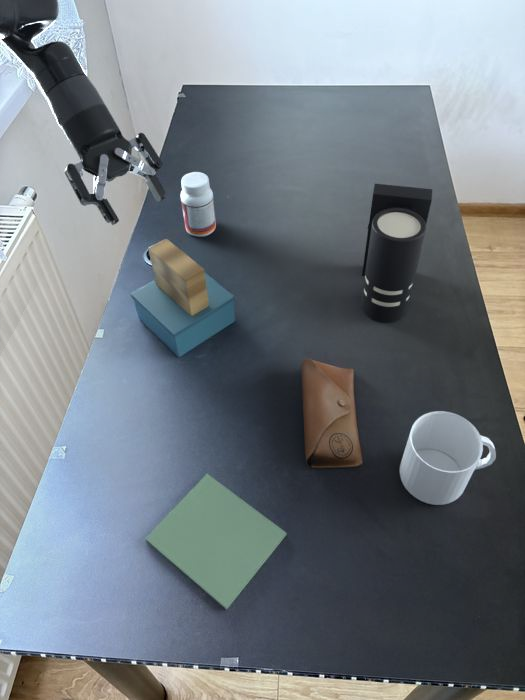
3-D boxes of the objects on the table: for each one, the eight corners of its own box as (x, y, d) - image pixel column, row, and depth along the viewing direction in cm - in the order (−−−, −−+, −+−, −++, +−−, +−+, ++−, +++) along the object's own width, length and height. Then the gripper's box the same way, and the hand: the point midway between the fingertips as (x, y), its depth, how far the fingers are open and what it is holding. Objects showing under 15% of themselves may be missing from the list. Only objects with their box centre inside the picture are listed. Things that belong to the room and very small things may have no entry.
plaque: (209, 305, 97) (204, 268, 91) (191, 316, 95) (185, 280, 89) (173, 274, 102) (166, 238, 96) (156, 284, 100) (147, 248, 94)
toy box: (237, 321, 103) (234, 296, 98) (178, 359, 98) (173, 334, 93) (193, 284, 109) (189, 259, 104) (136, 318, 104) (130, 293, 99)
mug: (399, 502, 80) (411, 468, 73) (398, 444, 86) (408, 408, 79) (491, 511, 79) (512, 478, 72) (483, 452, 85) (502, 416, 78)
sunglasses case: (367, 466, 83) (345, 445, 79) (322, 479, 86) (299, 459, 82) (353, 365, 95) (334, 342, 91) (315, 380, 98) (294, 358, 94)
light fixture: (353, 318, 102) (364, 236, 89) (362, 265, 111) (372, 183, 97) (411, 326, 101) (431, 244, 87) (415, 271, 109) (434, 189, 96)
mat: (226, 610, 72) (226, 608, 72) (145, 540, 78) (145, 538, 78) (286, 534, 78) (286, 532, 78) (207, 475, 84) (207, 473, 83)
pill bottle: (187, 218, 121) (180, 169, 113) (217, 218, 121) (212, 169, 112) (183, 237, 117) (175, 189, 109) (214, 238, 117) (209, 189, 108)
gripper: (44, 122, 84) (105, 225, 87) (128, 88, 90) (183, 186, 93) (38, 142, 91) (95, 236, 94) (117, 109, 97) (168, 199, 100)
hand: (139, 211), depth 94 cm, fingers open, 8 cm apart
